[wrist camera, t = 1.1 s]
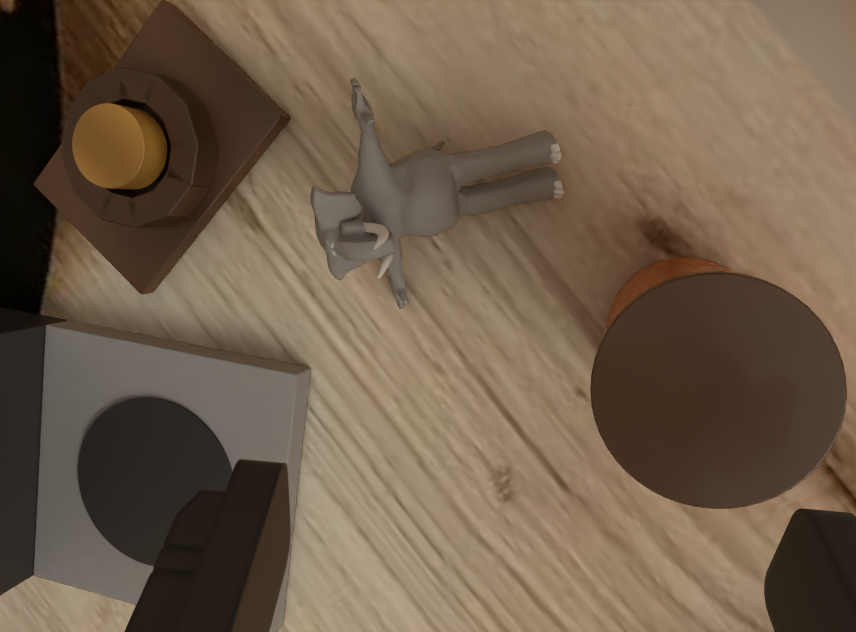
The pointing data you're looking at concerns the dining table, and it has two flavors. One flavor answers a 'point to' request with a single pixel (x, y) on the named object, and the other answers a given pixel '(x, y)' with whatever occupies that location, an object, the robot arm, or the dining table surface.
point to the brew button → (119, 147)
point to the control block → (186, 147)
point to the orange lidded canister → (715, 385)
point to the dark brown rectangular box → (126, 445)
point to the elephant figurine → (422, 195)
